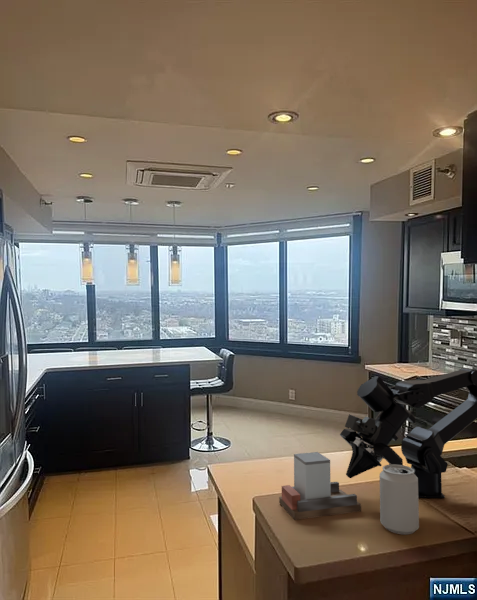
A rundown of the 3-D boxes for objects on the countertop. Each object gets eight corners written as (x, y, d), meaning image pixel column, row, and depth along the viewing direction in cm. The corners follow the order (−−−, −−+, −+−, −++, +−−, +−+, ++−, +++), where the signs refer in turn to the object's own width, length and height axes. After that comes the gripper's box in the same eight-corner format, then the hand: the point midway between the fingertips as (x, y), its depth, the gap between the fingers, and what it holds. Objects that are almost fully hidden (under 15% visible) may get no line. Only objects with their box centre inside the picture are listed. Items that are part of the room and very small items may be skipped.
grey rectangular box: (317, 493, 104) (317, 451, 104) (330, 503, 97) (330, 459, 98) (294, 496, 102) (293, 454, 102) (305, 507, 96) (305, 462, 96)
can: (422, 538, 86) (421, 475, 86) (382, 534, 87) (381, 472, 88) (415, 521, 93) (414, 463, 94) (378, 518, 94) (377, 461, 95)
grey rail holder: (340, 495, 107) (340, 476, 107) (361, 510, 98) (360, 490, 98) (279, 503, 102) (279, 483, 102) (294, 519, 94) (294, 498, 94)
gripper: (345, 396, 114) (307, 443, 110) (388, 409, 96) (345, 467, 92) (373, 424, 116) (337, 472, 112) (421, 442, 98) (379, 500, 94)
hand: (347, 476), depth 102 cm, fingers closed
